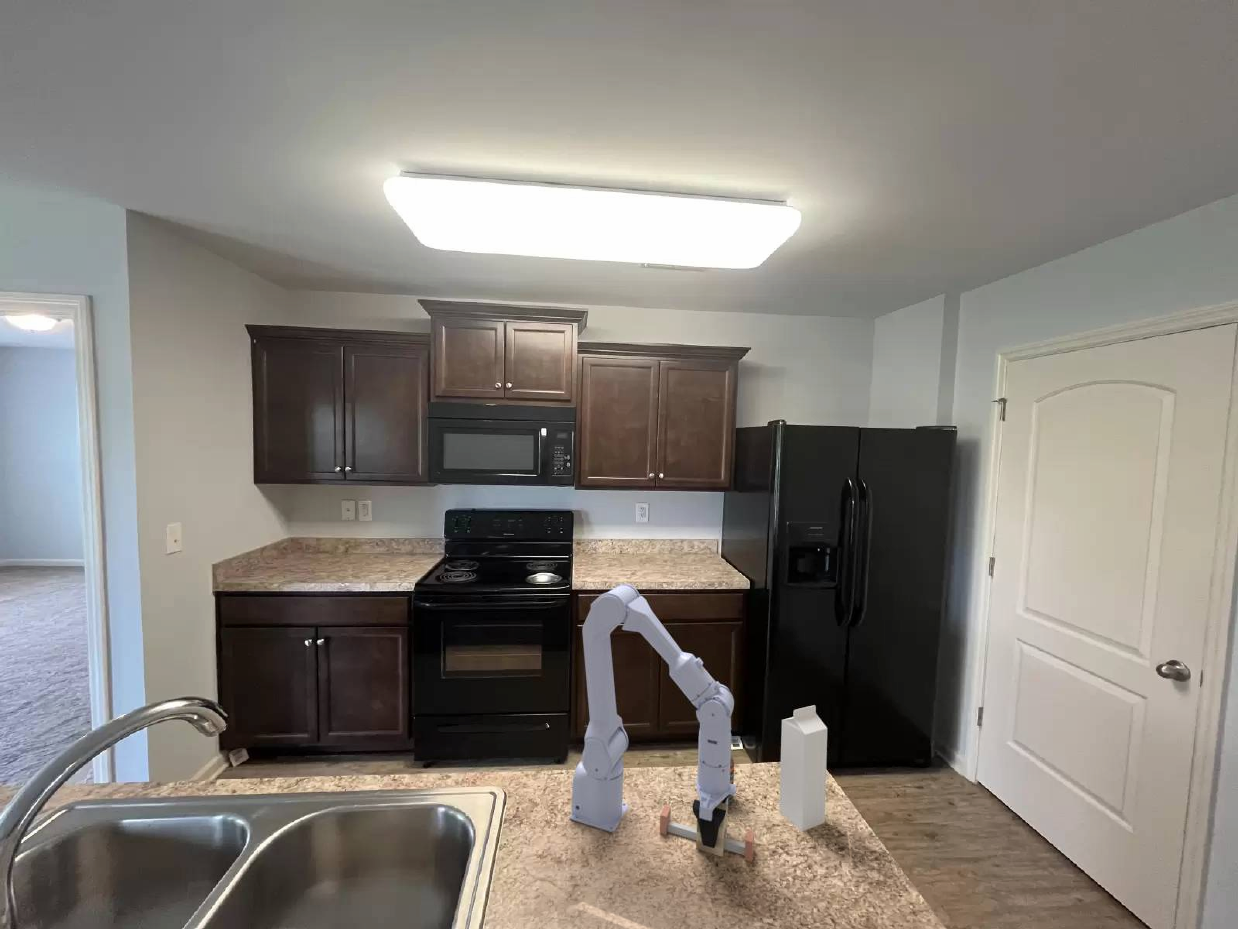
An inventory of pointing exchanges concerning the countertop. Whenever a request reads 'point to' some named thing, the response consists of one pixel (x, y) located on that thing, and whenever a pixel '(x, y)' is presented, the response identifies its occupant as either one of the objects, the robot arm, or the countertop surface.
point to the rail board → (691, 833)
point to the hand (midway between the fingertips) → (711, 834)
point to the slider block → (720, 838)
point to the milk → (803, 769)
